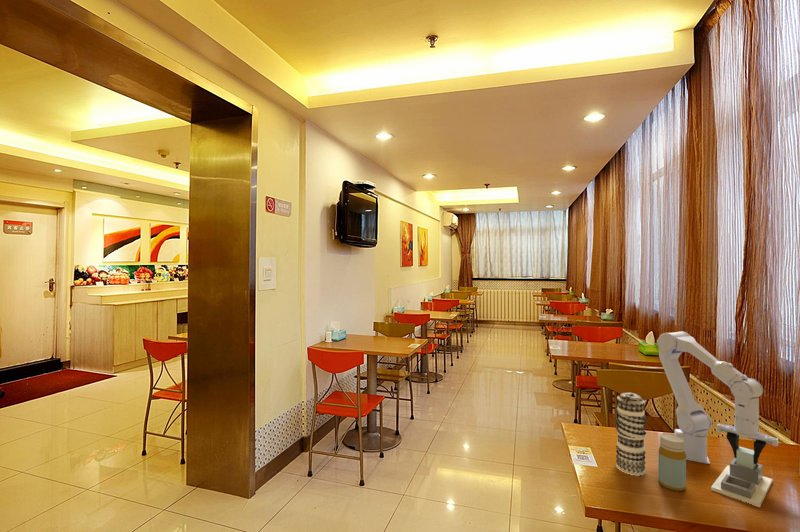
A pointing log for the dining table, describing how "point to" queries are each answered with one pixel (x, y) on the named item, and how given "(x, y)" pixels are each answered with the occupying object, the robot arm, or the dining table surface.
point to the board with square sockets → (743, 483)
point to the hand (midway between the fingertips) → (746, 460)
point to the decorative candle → (630, 434)
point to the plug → (745, 458)
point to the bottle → (672, 462)
